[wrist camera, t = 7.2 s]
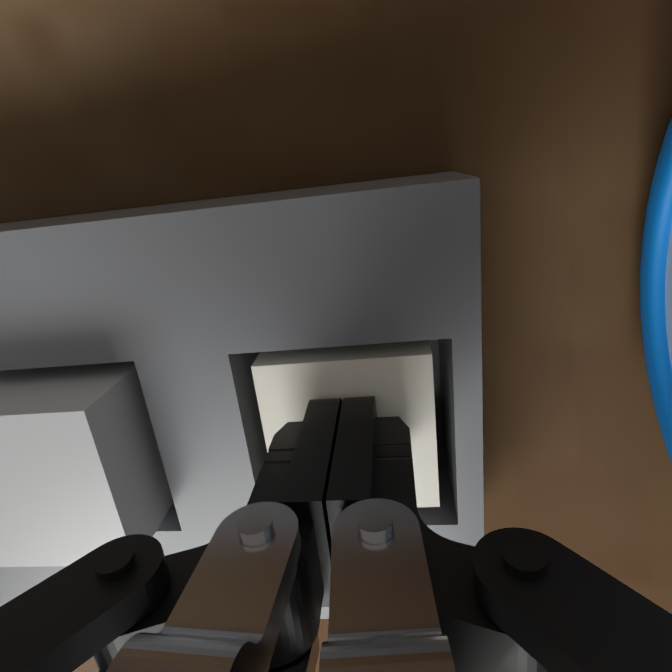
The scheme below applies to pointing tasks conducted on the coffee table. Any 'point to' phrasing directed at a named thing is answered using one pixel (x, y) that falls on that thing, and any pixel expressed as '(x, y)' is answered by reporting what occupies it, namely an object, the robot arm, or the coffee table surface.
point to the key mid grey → (75, 463)
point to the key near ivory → (357, 393)
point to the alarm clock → (659, 289)
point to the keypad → (255, 322)
